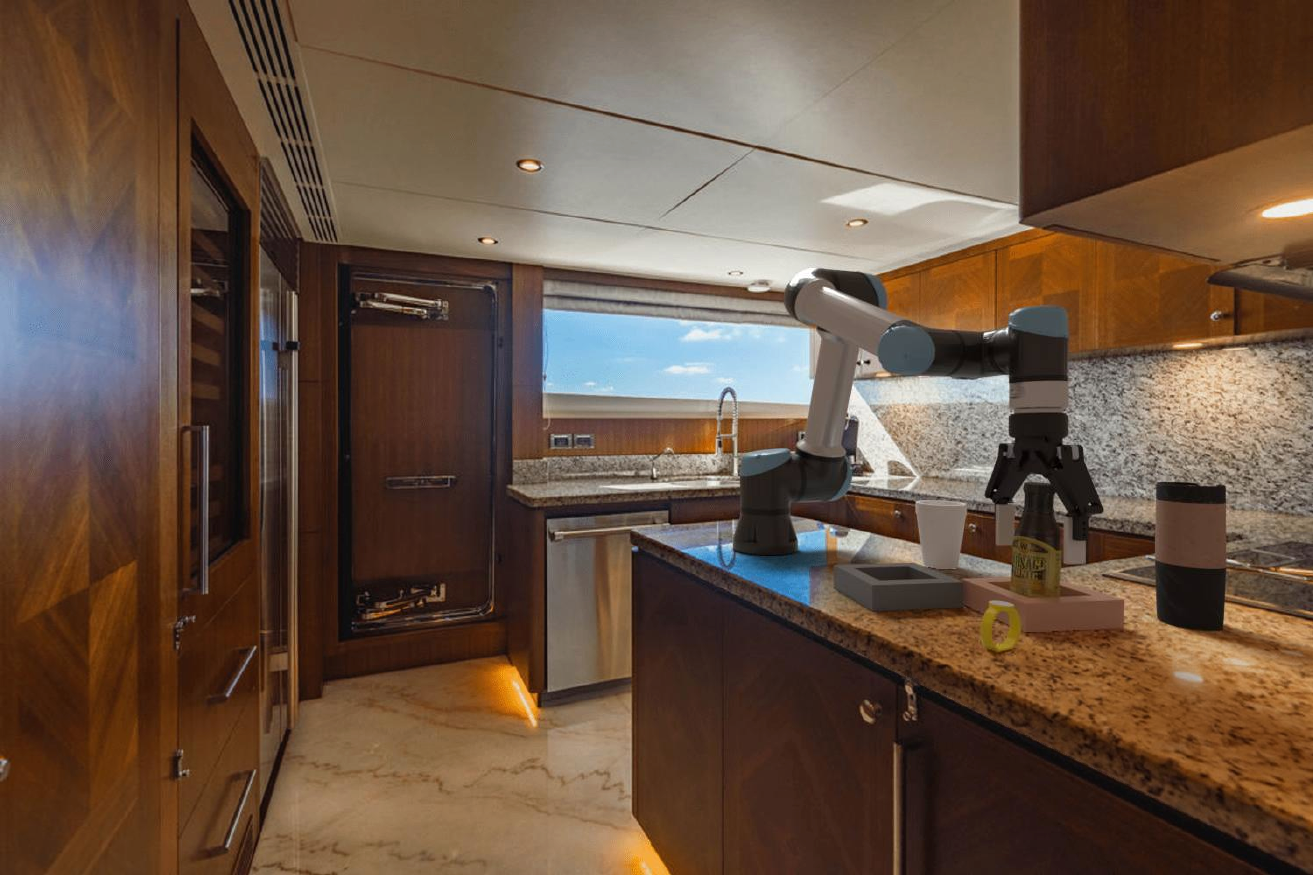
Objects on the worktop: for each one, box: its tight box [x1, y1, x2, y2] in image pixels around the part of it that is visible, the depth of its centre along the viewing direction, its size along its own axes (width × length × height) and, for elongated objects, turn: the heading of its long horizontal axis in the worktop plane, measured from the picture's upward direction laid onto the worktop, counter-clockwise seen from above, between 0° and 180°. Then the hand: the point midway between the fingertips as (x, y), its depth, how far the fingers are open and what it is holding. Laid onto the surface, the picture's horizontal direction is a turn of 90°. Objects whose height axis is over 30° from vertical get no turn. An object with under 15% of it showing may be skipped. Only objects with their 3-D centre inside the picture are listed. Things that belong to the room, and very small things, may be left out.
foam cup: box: [915, 499, 968, 570], centre depth 121 cm, size 10×9×13 cm
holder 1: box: [833, 562, 964, 612], centre depth 99 cm, size 14×15×4 cm
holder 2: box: [960, 576, 1125, 633], centre depth 89 cm, size 14×15×4 cm
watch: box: [979, 601, 1022, 653], centre depth 75 cm, size 6×3×6 cm, turn 115°
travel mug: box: [1154, 481, 1227, 632], centre depth 85 cm, size 8×8×20 cm
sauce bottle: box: [1010, 481, 1063, 598], centre depth 89 cm, size 7×6×20 cm
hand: (1037, 553), depth 89 cm, fingers open, 13 cm apart
